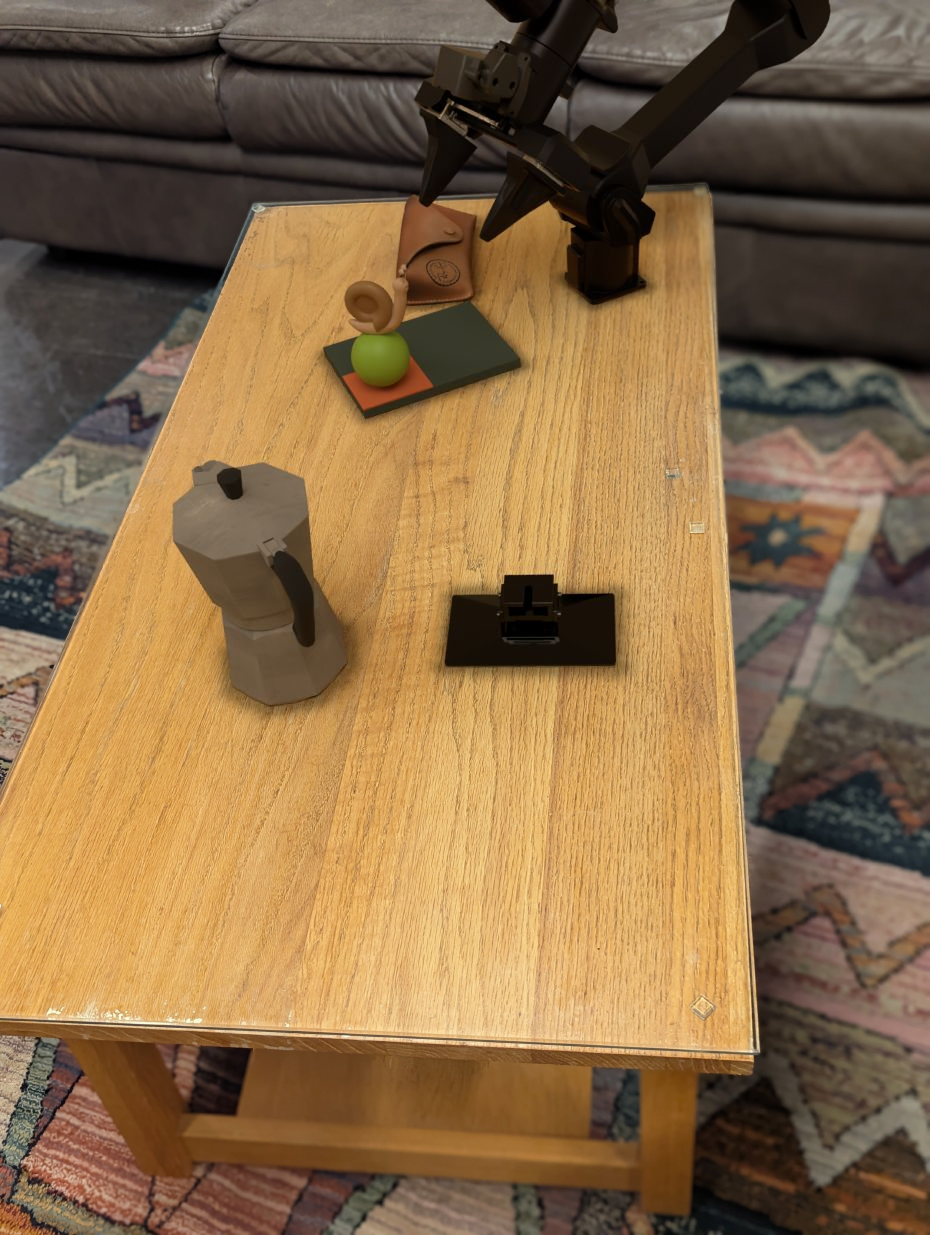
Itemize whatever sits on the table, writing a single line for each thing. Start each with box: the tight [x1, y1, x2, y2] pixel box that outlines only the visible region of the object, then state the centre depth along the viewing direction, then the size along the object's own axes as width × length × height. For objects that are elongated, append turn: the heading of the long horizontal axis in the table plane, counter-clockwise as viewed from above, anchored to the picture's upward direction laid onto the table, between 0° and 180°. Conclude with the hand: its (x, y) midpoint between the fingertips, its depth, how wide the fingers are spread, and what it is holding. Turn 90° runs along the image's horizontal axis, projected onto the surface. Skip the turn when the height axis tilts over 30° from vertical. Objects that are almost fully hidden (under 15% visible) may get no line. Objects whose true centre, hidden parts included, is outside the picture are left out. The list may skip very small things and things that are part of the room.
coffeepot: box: [172, 459, 348, 706], centre depth 73 cm, size 15×9×18 cm, turn 33°
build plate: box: [444, 573, 617, 668], centre depth 79 cm, size 12×7×5 cm, turn 86°
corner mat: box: [322, 300, 522, 420], centre depth 105 cm, size 16×12×1 cm
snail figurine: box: [344, 264, 410, 387], centre depth 97 cm, size 5×6×12 cm
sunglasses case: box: [395, 194, 478, 306], centre depth 117 cm, size 18×7×7 cm
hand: (452, 222), depth 96 cm, fingers open, 9 cm apart
